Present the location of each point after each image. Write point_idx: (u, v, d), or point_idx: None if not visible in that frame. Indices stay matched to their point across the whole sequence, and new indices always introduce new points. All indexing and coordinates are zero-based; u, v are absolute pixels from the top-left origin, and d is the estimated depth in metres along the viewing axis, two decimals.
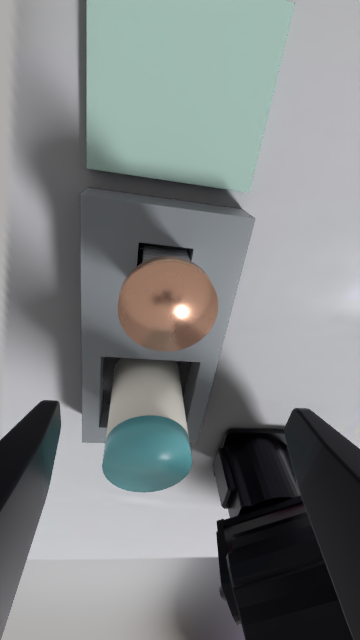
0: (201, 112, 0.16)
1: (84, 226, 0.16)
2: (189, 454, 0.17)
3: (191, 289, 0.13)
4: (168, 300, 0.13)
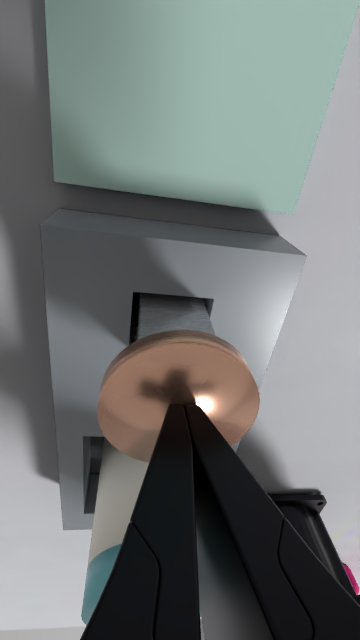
0: (229, 95, 0.10)
1: (49, 271, 0.10)
2: None
3: (217, 384, 0.08)
4: (180, 400, 0.08)
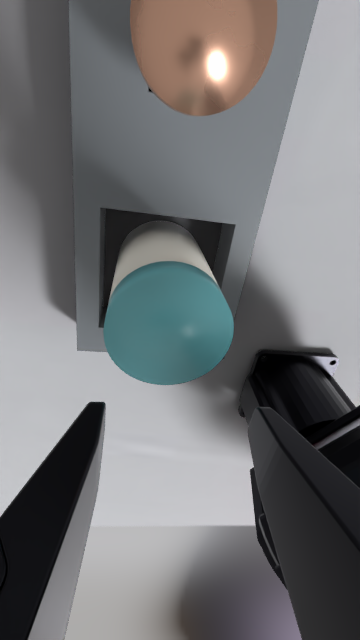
0: None
1: None
2: (231, 316, 0.12)
3: None
4: (205, 3, 0.09)
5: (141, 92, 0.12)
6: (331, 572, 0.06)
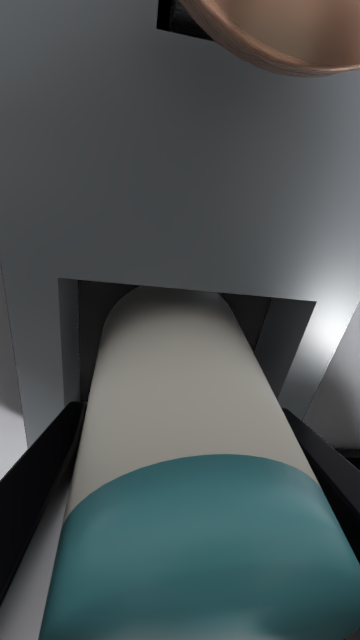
0: None
1: None
2: None
3: None
4: None
5: (140, 29, 0.05)
6: None
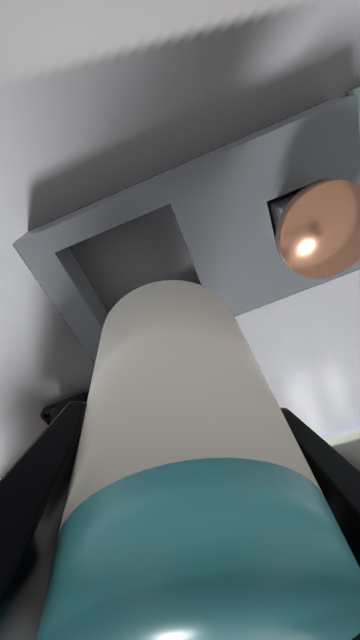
0: None
1: (325, 113, 0.14)
2: None
3: (354, 241, 0.14)
4: (340, 227, 0.14)
5: (264, 197, 0.16)
6: None
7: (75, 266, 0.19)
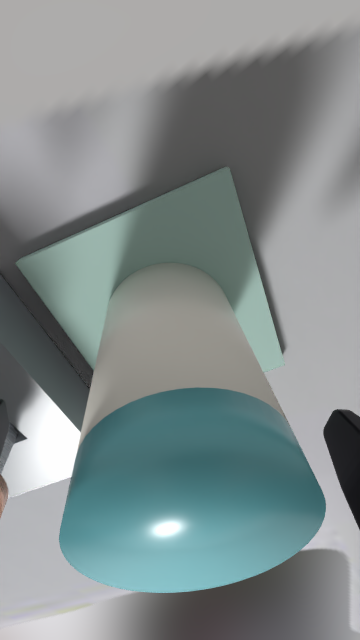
0: None
1: None
2: (322, 506, 0.06)
3: None
4: None
5: None
6: None
7: None
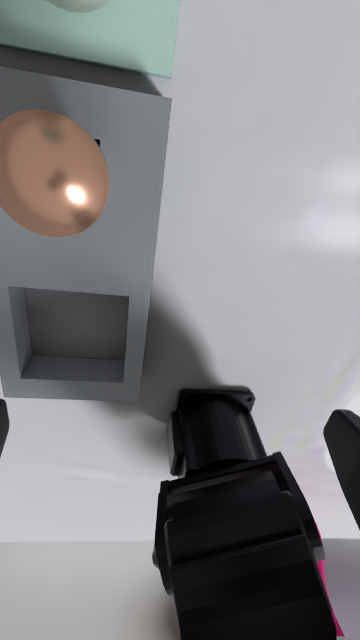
0: None
1: None
2: None
3: (70, 150, 0.11)
4: (45, 164, 0.12)
5: None
6: None
7: (51, 363, 0.22)
